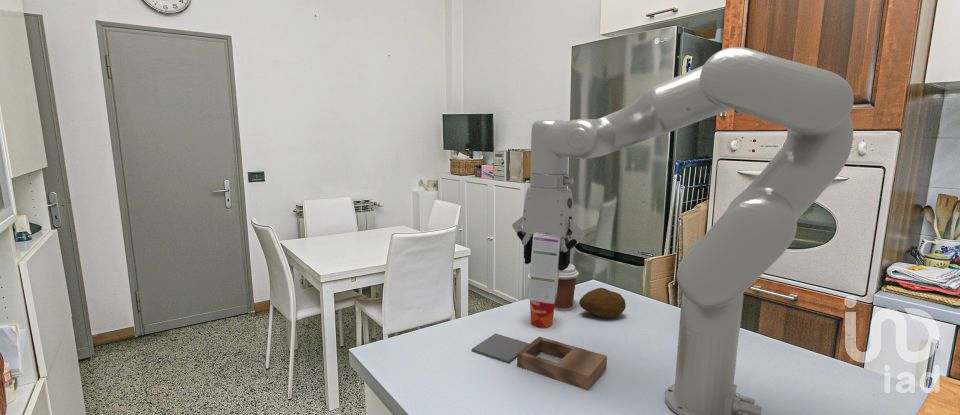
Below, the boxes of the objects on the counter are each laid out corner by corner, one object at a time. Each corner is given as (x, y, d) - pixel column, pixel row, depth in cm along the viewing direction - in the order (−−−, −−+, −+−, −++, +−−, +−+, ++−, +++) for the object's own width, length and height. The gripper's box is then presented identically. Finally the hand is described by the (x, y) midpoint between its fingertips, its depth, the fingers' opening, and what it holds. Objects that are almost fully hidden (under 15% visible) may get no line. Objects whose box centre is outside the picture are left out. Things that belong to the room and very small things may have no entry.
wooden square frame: (606, 369, 98) (607, 355, 98) (588, 390, 90) (588, 376, 90) (538, 348, 107) (539, 336, 107) (517, 366, 99) (517, 353, 99)
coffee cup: (566, 299, 139) (567, 260, 137) (584, 309, 131) (585, 268, 129) (539, 303, 136) (540, 263, 134) (555, 314, 127) (557, 272, 125)
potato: (630, 321, 123) (631, 293, 122) (584, 323, 122) (585, 294, 120) (618, 309, 131) (619, 283, 130) (575, 311, 130) (576, 284, 128)
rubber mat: (531, 346, 108) (531, 344, 108) (509, 363, 100) (509, 361, 100) (495, 335, 114) (495, 333, 114) (471, 351, 106) (471, 348, 106)
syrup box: (554, 304, 96) (562, 237, 92) (526, 300, 97) (533, 233, 94) (557, 294, 101) (564, 230, 98) (530, 290, 102) (536, 226, 99)
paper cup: (521, 320, 123) (522, 269, 121) (546, 315, 126) (547, 266, 124) (537, 332, 116) (538, 278, 114) (562, 326, 119) (564, 274, 117)
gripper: (596, 183, 93) (592, 268, 96) (520, 177, 102) (519, 255, 105) (581, 186, 87) (577, 278, 90) (502, 180, 96) (501, 263, 99)
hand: (546, 265), depth 97 cm, fingers closed on syrup box, 7 cm apart
